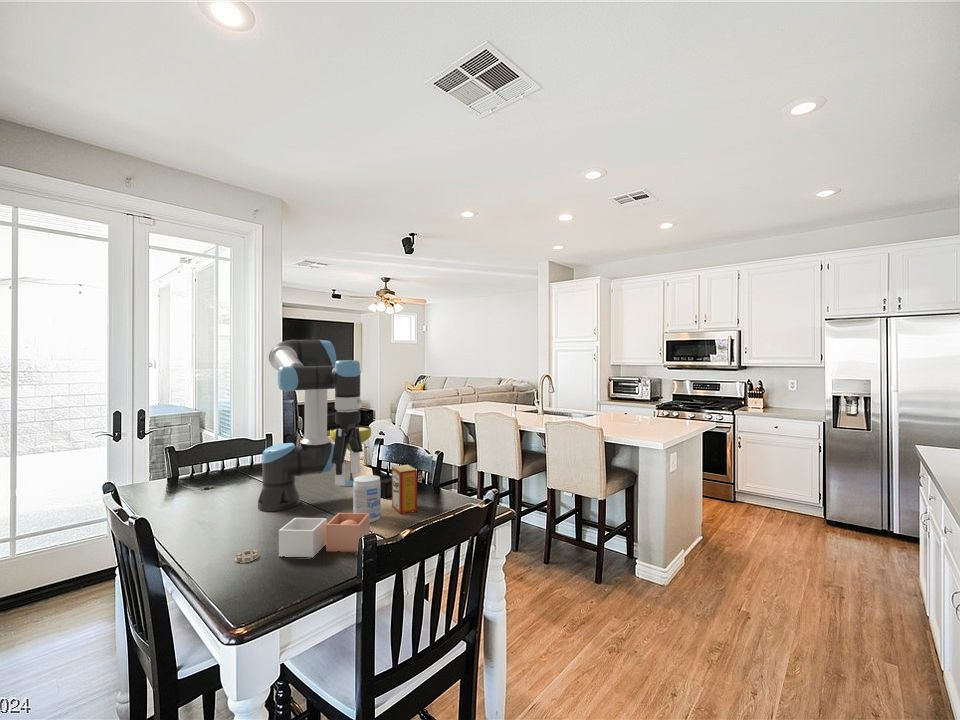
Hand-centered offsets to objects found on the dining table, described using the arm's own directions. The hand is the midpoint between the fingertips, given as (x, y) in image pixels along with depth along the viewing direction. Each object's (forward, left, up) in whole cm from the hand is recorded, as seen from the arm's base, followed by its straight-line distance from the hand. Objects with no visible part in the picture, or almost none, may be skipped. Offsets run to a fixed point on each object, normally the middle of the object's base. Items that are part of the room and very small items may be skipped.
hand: (348, 478), depth 142 cm
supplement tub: (-1, +22, -21) cm, 30 cm away
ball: (0, 0, -16) cm, 16 cm away
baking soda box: (+10, +33, -21) cm, 40 cm away
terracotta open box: (0, 0, -20) cm, 20 cm away
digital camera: (+2, +49, -21) cm, 53 cm away
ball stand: (-26, -11, -20) cm, 35 cm away
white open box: (-12, -5, -20) cm, 24 cm away
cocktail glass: (-22, +66, -21) cm, 72 cm away
